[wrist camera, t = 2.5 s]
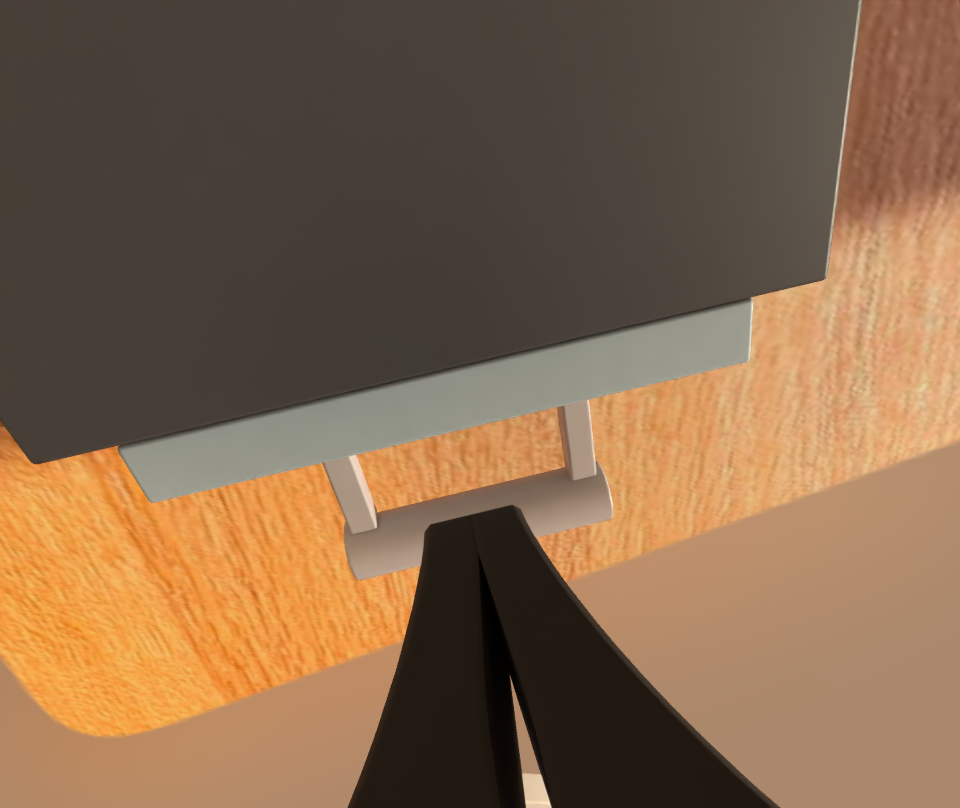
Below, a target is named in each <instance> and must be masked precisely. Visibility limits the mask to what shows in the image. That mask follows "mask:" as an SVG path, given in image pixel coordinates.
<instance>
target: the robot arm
mask: <svg viewBox="0 0 960 808" xmlns="http://www.w3.org/2000/svg"><path fill="white" fill-rule="evenodd" d="M510 676H511V680H512V683H513V685H514V689H515V692H516V695H517V699H518V702H519V705H520V708H521V711H522V715H523V718H524V721H525V724H526V727H527V731H528V734H529V737H530V740H531V744H532V747H533V750H534V753H535V756H536V760H537V763H538V766H539V769H540V772H541V776H542V779H543V782H544V785H545V789H546V792H547V795H548V798H549V801H550V805H551V808H780V807H779V806H778V805H776V804H775V803H774V802H773V801H772V800H771V799H769V798H768V797H767V796H766V795H765V794H764V793H762V792H761V791H760V790H759V789H758V788H757V787H756V786H754V785H753V784H752V783H751V782H750V781H749V780H748V779H747V778H746V777H745V776H744V775H743V774H741V773H740V772H739V771H738V770H737V769H736V768H735V767H734V766H733V765H732V764H731V763H730V762H729V761H728V760H726V758H725V757H724V756H722V755H721V754H720V753H719V752H718V751H717V750H716V749H715V748H714V747H713V746H712V745H711V744H710V743H708V741H707V740H705V739H704V738H703V737H702V736H701V735H700V734H699V733H698V732H697V731H696V730H695V729H694V728H693V727H692V726H691V725H690V724H689V723H688V722H687V721H686V720H685V719H684V718H683V717H682V716H681V715H680V714H679V713H678V712H677V711H676V710H675V709H674V708H673V707H672V706H671V705H670V704H669V702H668V701H667V700H666V699H665V698H663V696H662V695H661V694H660V693H659V692H658V691H657V690H656V689H655V688H654V687H653V686H652V685H651V683H650V682H649V681H648V680H647V679H646V678H645V677H644V676H643V675H642V674H641V673H640V672H639V671H638V669H637V668H636V667H635V666H634V665H633V664H632V663H631V661H630V660H629V659H628V658H627V657H626V656H625V655H624V654H623V652H622V651H621V650H620V649H619V648H618V647H617V646H616V645H615V643H614V642H613V641H612V640H611V639H610V637H609V636H608V635H607V634H606V633H605V631H604V630H603V629H602V628H601V627H600V626H599V624H598V623H597V622H596V621H595V619H594V618H593V617H592V616H591V614H590V613H589V612H588V610H587V609H586V608H585V607H584V605H583V604H582V603H581V601H580V600H579V599H578V598H577V596H576V595H575V594H574V593H573V591H572V590H571V589H570V587H569V586H568V585H567V583H566V582H565V581H564V579H563V578H562V577H561V575H560V574H559V572H558V571H557V569H556V568H555V567H554V565H553V564H552V562H551V561H550V559H549V558H548V556H547V555H546V553H545V552H544V550H543V549H542V547H541V545H540V544H539V542H538V541H537V539H536V537H535V536H534V534H533V532H532V531H531V529H530V527H529V525H528V523H527V521H526V519H525V517H524V515H523V513H522V510H521V509H520V508H518V507H516V506H514V505H508V506H504V507H500V508H496V509H492V510H488V511H483V512H479V513H475V514H471V515H467V516H463V517H459V518H454V519H450V520H446V521H442V522H438V523H434V524H430V525H429V527H428V528H427V529H426V531H425V532H424V545H423V553H422V561H421V567H420V573H419V578H418V584H417V588H416V593H415V598H414V603H413V607H412V611H411V615H410V619H409V623H408V627H407V631H406V635H405V639H404V643H403V646H402V651H401V655H400V658H399V661H398V665H397V669H396V672H395V675H394V678H393V681H392V684H391V688H390V691H389V694H388V697H387V700H386V703H385V706H384V709H383V713H382V716H381V719H380V722H379V725H378V728H377V731H376V734H375V737H374V740H373V743H372V745H371V748H370V751H369V753H368V756H367V759H366V762H365V765H364V767H363V770H362V772H361V775H360V778H359V780H358V783H357V786H356V788H355V790H354V793H353V796H352V798H351V801H350V803H349V806H348V808H526V802H525V794H524V786H523V778H522V770H521V761H520V753H519V746H518V738H517V731H516V730H517V729H516V721H515V713H514V705H513V697H512V690H511V681H510Z"/></svg>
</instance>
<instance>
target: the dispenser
mask: <svg viewBox="0 0 960 808" xmlns="http://www.w3.org/2000/svg"><path fill="white" fill-rule="evenodd" d="M861 7H862V0H0V421H1V422H2V423H3V425H4V426H5V428H6V429H7V430H8V432H9V433H10V434H11V436H12V437H13V439H14V440H15V441H16V443H17V444H18V445H19V447H20V448H21V450H22V451H23V452H24V454H25V455H26V456H27V458H28V459H29V460H30V462H32V463H33V464H41V463H45V462H50V461H54V460H58V459H63V458H67V457H71V456H75V455H80V454H84V453H88V452H92V451H97V450H101V449H105V448H109V447H114V446H118V445H122V444H126V443H131V442H135V441H139V440H144V439H148V438H152V437H156V436H161V435H165V434H169V433H173V432H178V431H182V430H186V429H190V428H195V427H199V426H203V425H208V424H212V423H216V422H220V421H225V420H229V419H233V418H237V417H242V416H246V415H250V414H254V413H259V412H263V411H267V410H272V409H276V408H280V407H284V406H289V405H293V404H297V403H301V402H306V401H310V400H314V399H318V398H323V397H327V396H331V395H335V394H340V393H344V392H348V391H353V390H357V389H361V388H365V387H370V386H374V385H378V384H382V383H387V382H391V381H395V380H399V379H404V378H408V377H412V376H417V375H421V374H425V373H429V372H434V371H438V370H442V369H446V368H451V367H455V366H459V365H463V364H468V363H472V362H476V361H481V360H485V359H489V358H493V357H498V356H502V355H506V354H510V353H515V352H519V351H523V350H527V349H532V348H536V347H540V346H545V345H549V344H553V343H557V342H562V341H566V340H570V339H574V338H579V337H583V336H587V335H591V334H596V333H600V332H604V331H608V330H613V329H617V328H621V327H626V326H630V325H634V324H638V323H643V322H647V321H651V320H655V319H660V318H664V317H668V316H672V315H677V314H681V313H685V312H690V311H694V310H698V309H702V308H707V307H711V306H715V305H719V304H724V303H728V302H732V301H736V300H741V299H745V298H749V297H754V296H758V295H762V294H766V293H771V292H775V291H779V290H783V289H788V288H792V287H796V286H800V285H805V284H809V283H813V282H818V281H822V280H824V279H826V277H827V275H828V267H829V259H830V251H831V243H832V235H833V228H834V220H835V212H836V204H837V196H838V188H839V180H840V172H841V165H842V157H843V149H844V141H845V133H846V125H847V117H848V109H849V102H850V94H851V86H852V78H853V70H854V62H855V54H856V46H857V39H858V31H859V23H860V15H861Z"/></svg>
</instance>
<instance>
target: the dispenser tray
mask: <svg viewBox="0 0 960 808" xmlns="http://www.w3.org/2000/svg"><path fill="white" fill-rule="evenodd" d="M752 315H753V300H752V298H750V297H749V298H745V299H741V300H736V301H732V302H728V303H724V304H719V305H715V306H711V307H707V308H702V309H698V310H694V311H690V312H685V313H681V314H677V315H672V316H668V317H664V318H660V319H655V320H651V321H647V322H643V323H638V324H634V325H630V326H626V327H621V328H617V329H613V330H608V331H604V332H600V333H596V334H591V335H587V336H583V337H579V338H574V339H570V340H566V341H562V342H557V343H553V344H549V345H545V346H540V347H536V348H532V349H527V350H523V351H519V352H515V353H510V354H506V355H502V356H498V357H493V358H489V359H485V360H481V361H476V362H472V363H468V364H463V365H459V366H455V367H451V368H446V369H442V370H438V371H434V372H429V373H425V374H421V375H417V376H412V377H408V378H404V379H399V380H395V381H391V382H387V383H382V384H378V385H374V386H370V387H365V388H361V389H357V390H353V391H348V392H344V393H340V394H335V395H331V396H327V397H323V398H318V399H314V400H310V401H306V402H301V403H297V404H293V405H289V406H284V407H280V408H276V409H272V410H267V411H263V412H259V413H254V414H250V415H246V416H242V417H237V418H233V419H229V420H225V421H220V422H216V423H212V424H208V425H203V426H199V427H195V428H190V429H186V430H182V431H178V432H173V433H169V434H165V435H161V436H156V437H152V438H148V439H144V440H139V441H135V442H131V443H126V444H122V445H119V446H118V452H119V454H120V456H121V457H122V459H123V460H124V462H125V464H126V465H127V467H128V468H129V470H130V472H131V473H132V475H133V476H134V478H135V480H136V481H137V483H138V484H139V486H140V488H141V489H142V491H143V492H144V494H145V496H146V497H147V499H148V500H149V501H150V502H151V503H155V502H159V501H163V500H168V499H172V498H176V497H180V496H184V495H189V494H193V493H197V492H201V491H206V490H210V489H214V488H218V487H222V486H227V485H231V484H235V483H239V482H243V481H248V480H252V479H256V478H260V477H264V476H269V475H273V474H277V473H281V472H286V471H290V470H294V469H298V468H302V467H307V466H311V465H315V464H319V463H323V466H324V468H325V471H326V473H327V476H328V478H329V480H330V483H331V485H332V488H333V490H334V493H335V495H336V498H337V500H338V503H339V505H340V508H341V510H342V512H343V515H344V517H345V520H346V522H345V525H344V544H345V550H346V555H347V559H348V563H349V566H350V569H351V571H352V573H353V575H354V577H355V578H356V579H357V580H364V579H368V578H372V577H376V576H380V575H385V574H389V573H393V572H397V571H401V570H405V569H409V568H413V567H417V566H421V561H422V553H423V545H424V532H425V531H426V529H427V528H428V527H429V525H430V524H434V523H438V522H442V521H446V520H450V519H454V518H459V517H463V516H467V515H471V514H475V513H479V512H483V511H488V510H492V509H496V508H500V507H504V506H508V505H514V506H516V507H518V508H520V509H521V510H522V513H523V515H524V517H525V519H526V521H527V523H528V525H529V527H530V529H531V531H532V532H533V534H534V536H535V537H536V538H537V537H541V536H545V535H549V534H553V533H557V532H561V531H566V530H570V529H574V528H578V527H582V526H586V525H590V524H594V523H598V522H603V521H607V520H610V519H611V518H612V517H613V502H612V496H611V492H610V488H609V484H608V481H607V478H606V476H605V473H604V471H603V469H602V467H601V465H600V464H599V463H598V462H597V461H595V453H594V443H593V433H592V424H591V414H590V404H589V399H593V398H597V397H602V396H606V395H610V394H614V393H618V392H623V391H627V390H631V389H635V388H639V387H644V386H648V385H652V384H656V383H660V382H665V381H669V380H673V379H677V378H682V377H686V376H690V375H694V374H698V373H703V372H707V371H711V370H715V369H719V368H724V367H728V366H732V365H736V364H741V363H745V362H747V361H749V359H750V348H751V332H752ZM555 407H557V411H558V418H559V425H560V432H561V440H562V447H563V454H564V461H565V468H561V469H557V470H552V471H548V472H544V473H540V474H536V475H532V476H527V477H523V478H519V479H515V480H511V481H507V482H502V483H498V484H494V485H490V486H486V487H482V488H478V489H473V490H469V491H465V492H461V493H457V494H453V495H448V496H444V497H440V498H436V499H432V500H428V501H423V502H419V503H415V504H411V505H407V506H403V507H398V508H394V509H390V510H386V511H382V512H378V513H377V510H376V507H375V505H374V502H373V499H372V496H371V494H370V491H369V488H368V485H367V483H366V480H365V477H364V474H363V472H362V469H361V466H360V464H359V461H358V458H357V454H361V453H366V452H370V451H374V450H378V449H382V448H387V447H391V446H395V445H399V444H404V443H408V442H412V441H416V440H420V439H425V438H429V437H433V436H437V435H441V434H446V433H450V432H454V431H458V430H462V429H467V428H471V427H475V426H479V425H484V424H488V423H492V422H496V421H500V420H505V419H509V418H513V417H517V416H521V415H526V414H530V413H534V412H538V411H543V410H547V409H551V408H555Z"/></svg>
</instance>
